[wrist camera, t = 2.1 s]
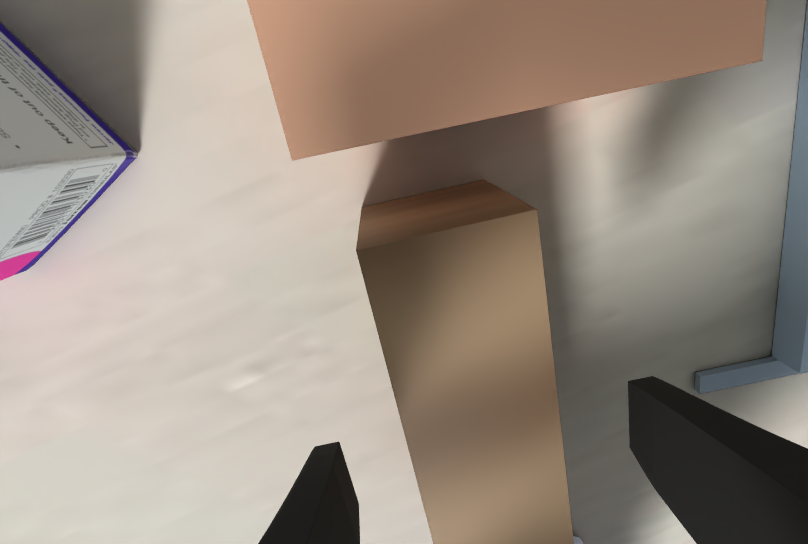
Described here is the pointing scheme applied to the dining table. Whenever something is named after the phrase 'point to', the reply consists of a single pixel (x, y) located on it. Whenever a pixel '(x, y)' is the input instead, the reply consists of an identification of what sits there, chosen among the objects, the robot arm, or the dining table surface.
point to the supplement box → (47, 157)
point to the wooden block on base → (470, 360)
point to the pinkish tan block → (478, 58)
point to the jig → (783, 273)
